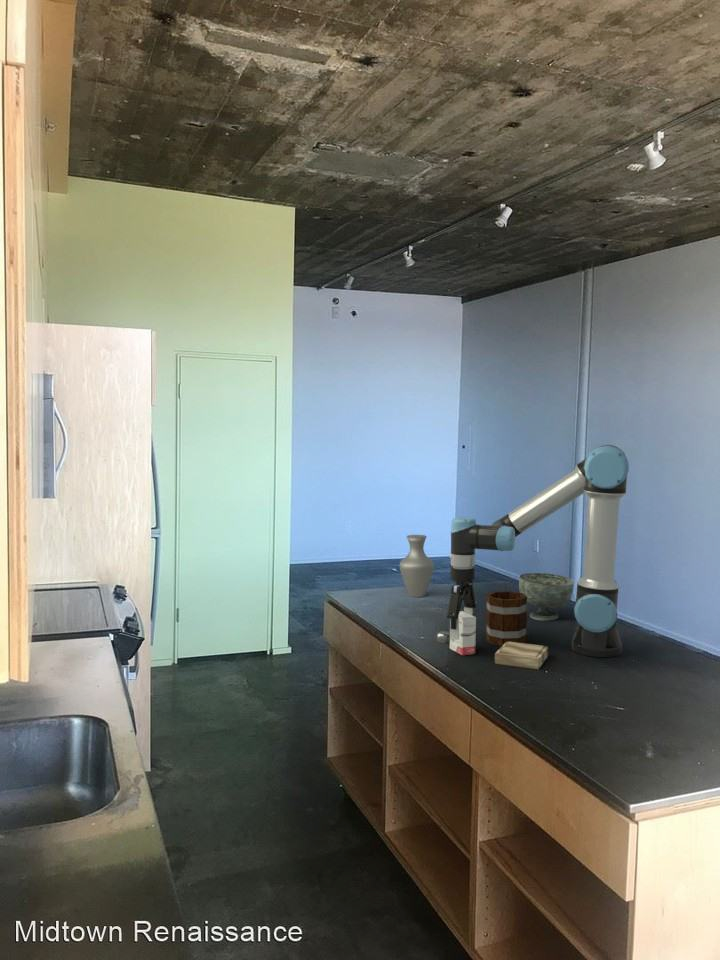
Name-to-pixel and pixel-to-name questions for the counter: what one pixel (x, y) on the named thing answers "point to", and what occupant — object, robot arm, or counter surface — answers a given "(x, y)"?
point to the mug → (506, 617)
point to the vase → (416, 567)
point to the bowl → (545, 592)
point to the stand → (521, 655)
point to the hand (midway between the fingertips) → (461, 633)
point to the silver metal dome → (443, 637)
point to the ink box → (465, 635)
